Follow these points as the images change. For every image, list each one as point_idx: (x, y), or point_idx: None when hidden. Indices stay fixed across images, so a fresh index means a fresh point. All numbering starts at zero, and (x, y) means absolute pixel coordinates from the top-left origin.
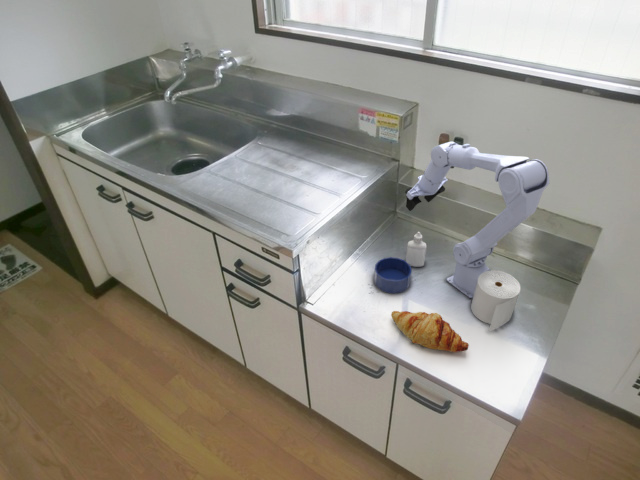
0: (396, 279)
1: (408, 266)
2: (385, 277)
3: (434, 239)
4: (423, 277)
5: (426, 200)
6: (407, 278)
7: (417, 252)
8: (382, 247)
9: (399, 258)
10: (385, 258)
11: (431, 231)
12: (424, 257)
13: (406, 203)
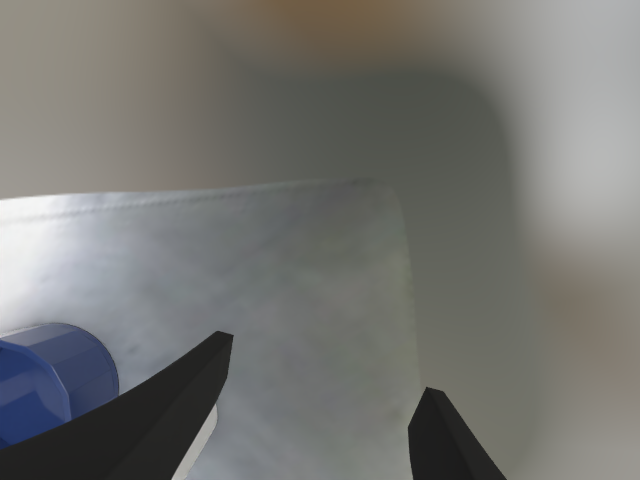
0: (57, 404)
1: None
2: (40, 366)
3: (372, 375)
4: None
5: (415, 412)
6: None
7: None
8: (195, 245)
9: (69, 402)
10: (27, 353)
11: (411, 336)
12: None
13: (192, 350)
